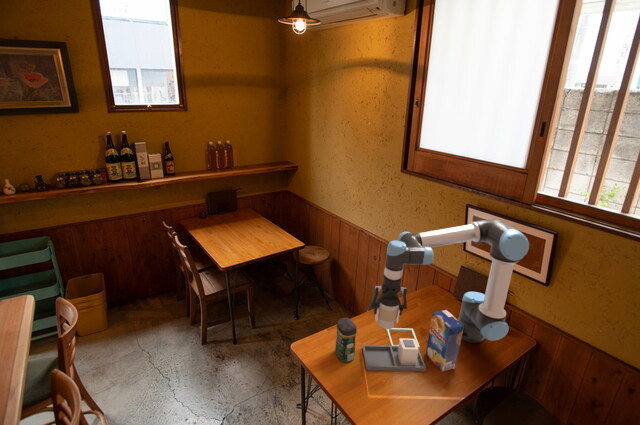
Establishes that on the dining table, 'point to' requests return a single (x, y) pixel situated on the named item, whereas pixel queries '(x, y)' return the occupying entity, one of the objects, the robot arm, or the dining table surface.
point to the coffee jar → (345, 339)
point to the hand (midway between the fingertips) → (386, 320)
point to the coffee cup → (387, 312)
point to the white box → (407, 351)
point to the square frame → (404, 331)
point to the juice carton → (444, 340)
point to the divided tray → (388, 359)
